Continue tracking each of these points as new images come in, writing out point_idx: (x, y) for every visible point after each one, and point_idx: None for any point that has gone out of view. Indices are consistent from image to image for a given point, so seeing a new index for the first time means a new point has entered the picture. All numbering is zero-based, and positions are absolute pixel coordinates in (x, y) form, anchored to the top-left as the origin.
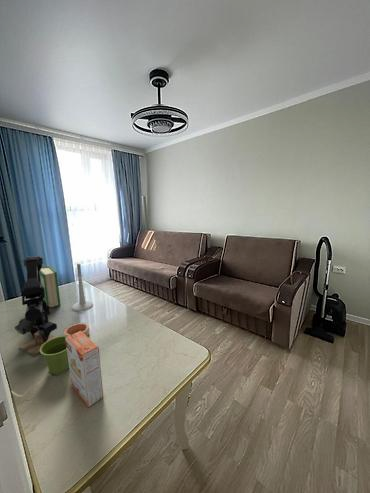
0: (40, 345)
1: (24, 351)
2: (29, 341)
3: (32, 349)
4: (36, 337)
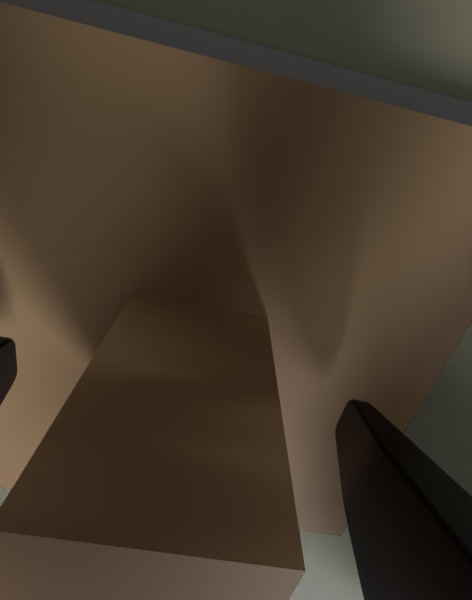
0: (93, 279)
1: (337, 77)
2: (431, 341)
3: (129, 116)
4: (160, 430)
